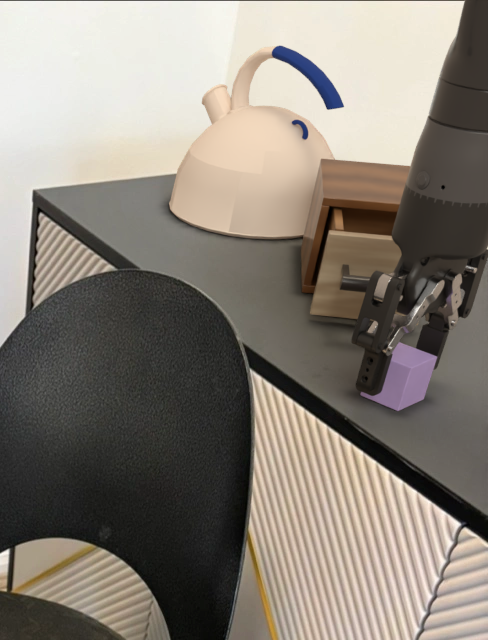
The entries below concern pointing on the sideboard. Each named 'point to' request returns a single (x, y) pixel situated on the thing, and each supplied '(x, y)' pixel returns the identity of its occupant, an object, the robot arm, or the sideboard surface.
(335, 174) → the wooden nightstand
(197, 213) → the kettle
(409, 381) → the purple cube
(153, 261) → the sideboard surface
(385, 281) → the robot arm
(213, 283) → the sideboard surface
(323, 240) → the drawer
